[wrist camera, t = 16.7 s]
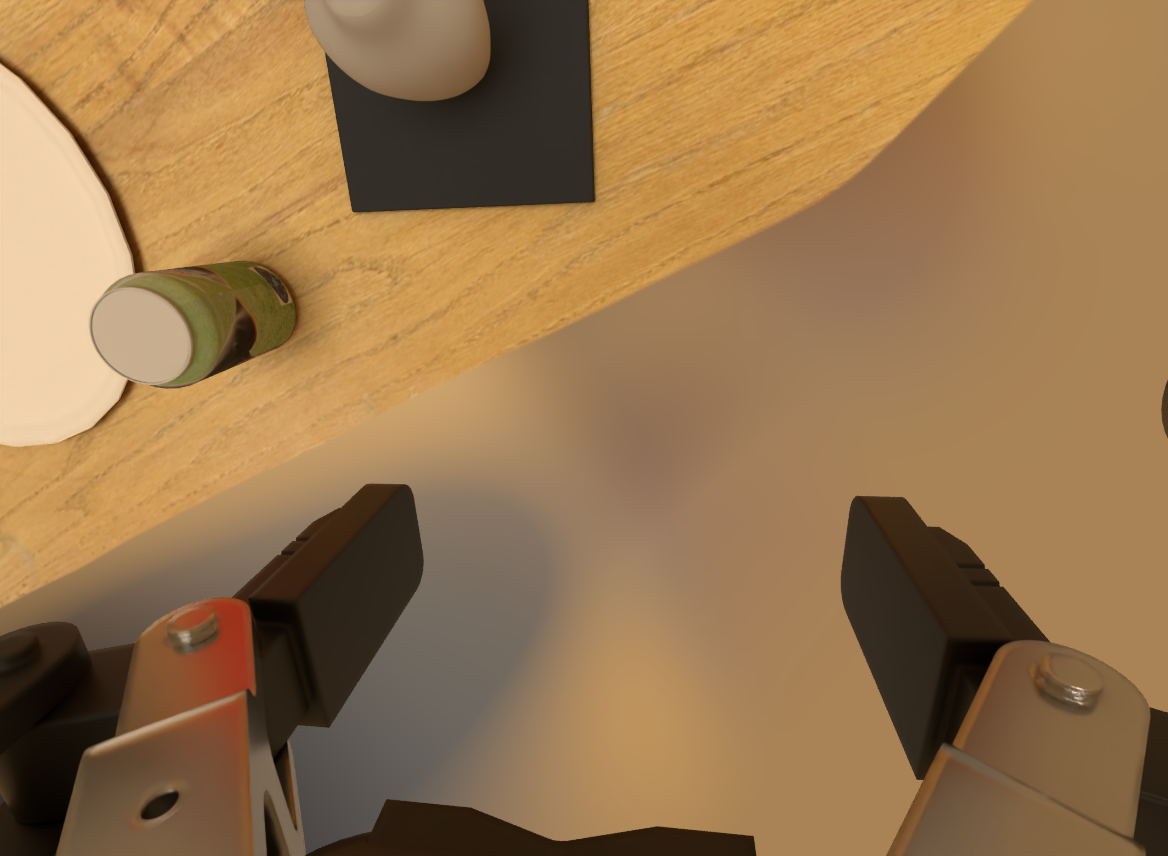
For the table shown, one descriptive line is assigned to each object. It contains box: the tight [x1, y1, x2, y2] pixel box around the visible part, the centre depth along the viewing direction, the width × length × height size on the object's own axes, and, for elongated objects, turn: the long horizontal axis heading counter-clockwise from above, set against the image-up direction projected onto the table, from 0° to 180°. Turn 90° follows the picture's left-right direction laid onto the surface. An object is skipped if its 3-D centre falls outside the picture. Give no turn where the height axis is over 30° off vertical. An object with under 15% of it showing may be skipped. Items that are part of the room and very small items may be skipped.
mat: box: [325, 0, 595, 212], centre depth 33 cm, size 15×15×1 cm
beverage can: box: [89, 261, 296, 388], centre depth 35 cm, size 6×7×12 cm
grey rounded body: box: [304, 0, 490, 101], centre depth 27 cm, size 8×5×12 cm
